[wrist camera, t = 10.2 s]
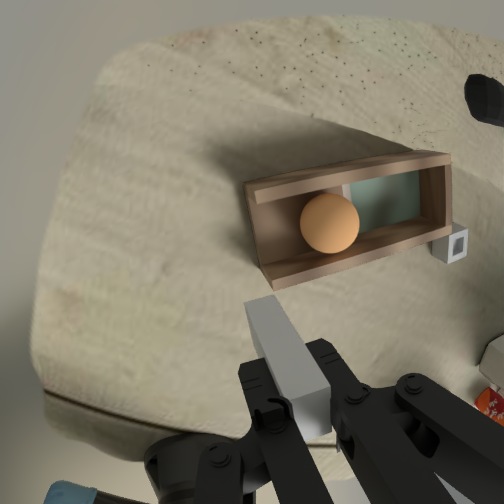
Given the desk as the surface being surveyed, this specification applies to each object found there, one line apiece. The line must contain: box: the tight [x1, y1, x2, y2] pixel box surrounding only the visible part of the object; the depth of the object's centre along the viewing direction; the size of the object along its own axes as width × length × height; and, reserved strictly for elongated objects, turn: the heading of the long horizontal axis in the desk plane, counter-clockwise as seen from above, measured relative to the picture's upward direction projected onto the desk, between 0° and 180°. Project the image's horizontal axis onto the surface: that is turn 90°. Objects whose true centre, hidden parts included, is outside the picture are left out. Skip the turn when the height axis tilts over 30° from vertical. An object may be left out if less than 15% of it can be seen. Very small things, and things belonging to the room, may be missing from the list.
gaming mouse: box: [464, 74, 504, 127], centre depth 29 cm, size 6×15×4 cm, turn 90°
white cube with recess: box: [432, 222, 468, 264], centre depth 33 cm, size 4×4×3 cm
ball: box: [300, 193, 359, 253], centre depth 26 cm, size 5×5×5 cm
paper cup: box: [475, 388, 504, 426], centre depth 49 cm, size 8×8×14 cm
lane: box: [243, 150, 452, 291], centre depth 28 cm, size 20×8×4 cm, turn 101°
